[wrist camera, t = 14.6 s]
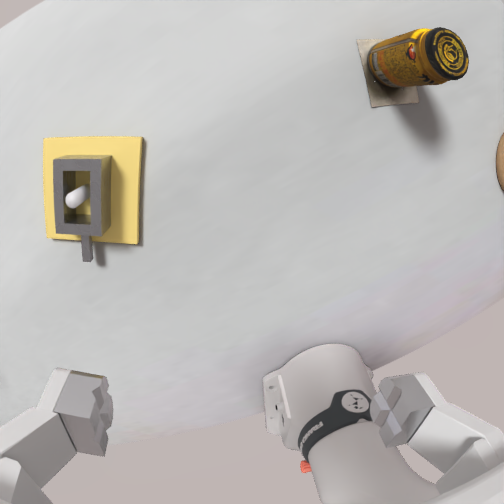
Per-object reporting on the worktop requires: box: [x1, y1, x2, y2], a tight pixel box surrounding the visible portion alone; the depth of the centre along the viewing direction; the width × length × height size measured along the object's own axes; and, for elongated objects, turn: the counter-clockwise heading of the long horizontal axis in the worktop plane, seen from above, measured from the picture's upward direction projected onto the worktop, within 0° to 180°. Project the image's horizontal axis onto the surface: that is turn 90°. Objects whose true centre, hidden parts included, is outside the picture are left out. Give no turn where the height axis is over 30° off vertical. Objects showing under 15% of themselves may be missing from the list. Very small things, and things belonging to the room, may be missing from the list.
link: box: [53, 155, 112, 262], centre depth 31 cm, size 12×6×4 cm, turn 173°
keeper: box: [43, 136, 143, 244], centre depth 31 cm, size 12×12×6 cm
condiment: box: [357, 27, 469, 107], centre depth 26 cm, size 7×8×12 cm
